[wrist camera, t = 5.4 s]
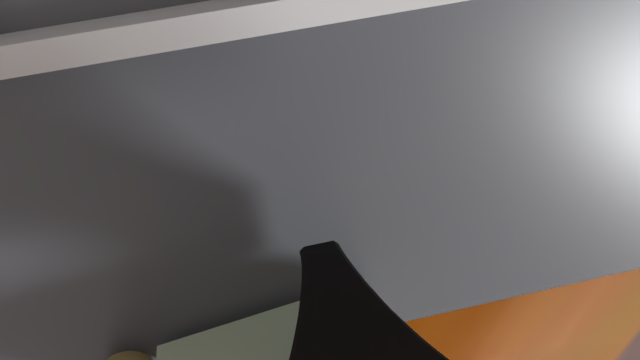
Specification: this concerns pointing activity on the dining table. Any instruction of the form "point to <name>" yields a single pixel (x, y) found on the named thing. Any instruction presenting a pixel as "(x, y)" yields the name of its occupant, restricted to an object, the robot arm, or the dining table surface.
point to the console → (304, 158)
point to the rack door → (233, 340)
